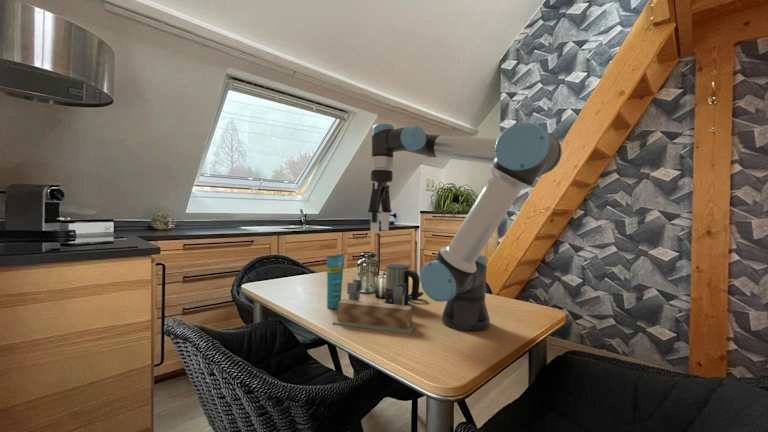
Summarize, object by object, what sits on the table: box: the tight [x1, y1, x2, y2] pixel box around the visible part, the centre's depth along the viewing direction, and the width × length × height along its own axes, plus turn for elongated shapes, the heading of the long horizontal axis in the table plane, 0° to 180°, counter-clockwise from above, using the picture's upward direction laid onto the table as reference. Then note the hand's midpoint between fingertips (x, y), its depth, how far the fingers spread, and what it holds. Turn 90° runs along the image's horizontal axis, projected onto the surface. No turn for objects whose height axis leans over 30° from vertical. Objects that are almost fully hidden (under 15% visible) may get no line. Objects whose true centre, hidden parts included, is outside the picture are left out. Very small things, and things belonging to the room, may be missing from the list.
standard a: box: [393, 283, 406, 305], centre depth 114 cm, size 6×6×11 cm
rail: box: [337, 298, 413, 329], centre depth 107 cm, size 23×4×6 cm, turn 76°
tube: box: [326, 254, 346, 309], centre depth 124 cm, size 7×5×19 cm, turn 134°
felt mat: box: [332, 318, 416, 334], centre depth 107 cm, size 25×8×1 cm, turn 76°
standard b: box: [346, 278, 363, 301], centre depth 118 cm, size 6×6×11 cm
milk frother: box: [384, 263, 424, 306], centre depth 134 cm, size 14×16×15 cm
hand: (379, 231), depth 117 cm, fingers open, 13 cm apart
